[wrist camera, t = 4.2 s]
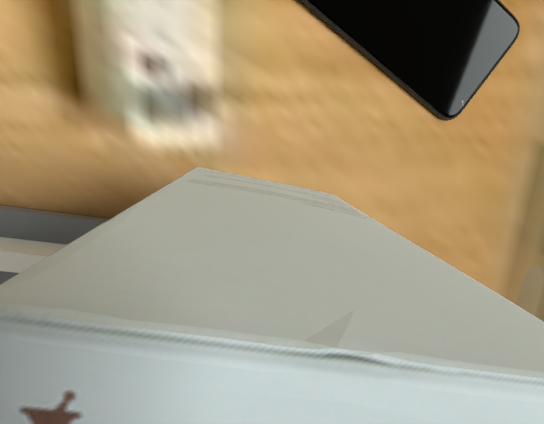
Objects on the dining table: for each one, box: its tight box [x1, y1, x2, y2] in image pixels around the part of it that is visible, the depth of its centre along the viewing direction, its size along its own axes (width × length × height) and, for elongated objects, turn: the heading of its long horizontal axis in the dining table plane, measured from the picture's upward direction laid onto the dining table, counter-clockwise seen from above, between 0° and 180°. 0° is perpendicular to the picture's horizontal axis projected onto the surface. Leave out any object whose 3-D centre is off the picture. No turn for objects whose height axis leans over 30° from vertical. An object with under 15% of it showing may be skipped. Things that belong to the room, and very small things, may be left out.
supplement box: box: [0, 167, 544, 424], centre depth 10 cm, size 7×7×13 cm
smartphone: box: [299, 0, 520, 120], centre depth 18 cm, size 7×1×15 cm
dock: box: [0, 205, 110, 285], centre depth 20 cm, size 16×16×3 cm
